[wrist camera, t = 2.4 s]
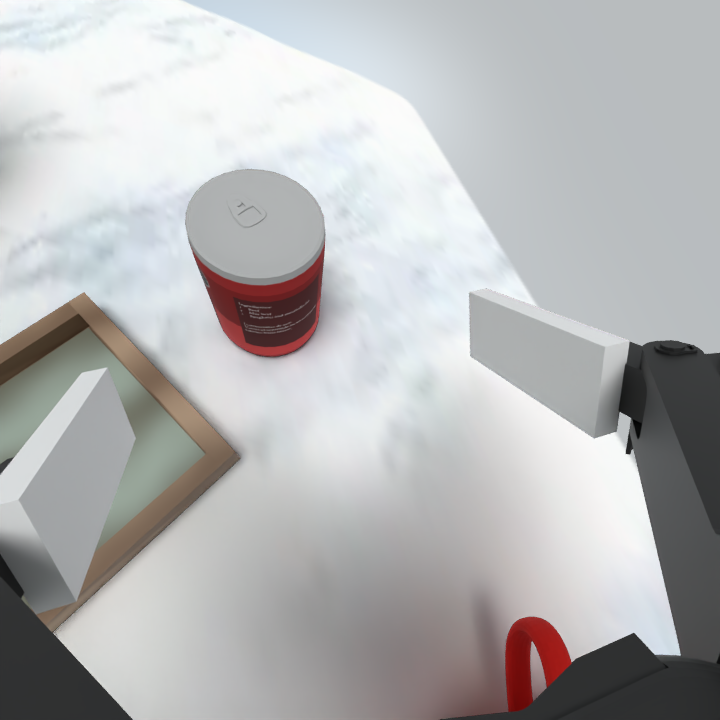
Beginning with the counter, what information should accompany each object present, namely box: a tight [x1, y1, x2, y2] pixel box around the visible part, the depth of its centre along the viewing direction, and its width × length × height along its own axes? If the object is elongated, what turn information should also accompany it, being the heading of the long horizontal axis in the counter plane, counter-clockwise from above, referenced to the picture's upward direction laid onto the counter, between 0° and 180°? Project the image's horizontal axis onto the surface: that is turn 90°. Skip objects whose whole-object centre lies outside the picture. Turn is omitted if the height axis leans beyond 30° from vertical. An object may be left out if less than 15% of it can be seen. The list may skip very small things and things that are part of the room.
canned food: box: [185, 169, 325, 357], centre depth 29 cm, size 8×8×11 cm
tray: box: [0, 293, 240, 632], centre depth 26 cm, size 16×16×2 cm
